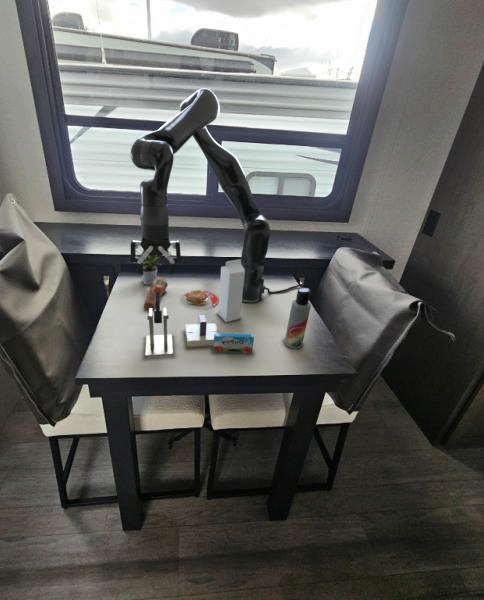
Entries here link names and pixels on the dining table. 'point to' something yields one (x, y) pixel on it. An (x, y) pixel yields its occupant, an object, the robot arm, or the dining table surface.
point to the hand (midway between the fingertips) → (156, 274)
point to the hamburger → (200, 297)
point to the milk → (231, 290)
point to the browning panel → (195, 338)
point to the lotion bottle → (298, 319)
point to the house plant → (149, 270)
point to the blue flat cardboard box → (233, 343)
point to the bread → (151, 297)
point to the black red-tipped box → (202, 325)
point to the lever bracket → (158, 338)
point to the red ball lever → (157, 303)
